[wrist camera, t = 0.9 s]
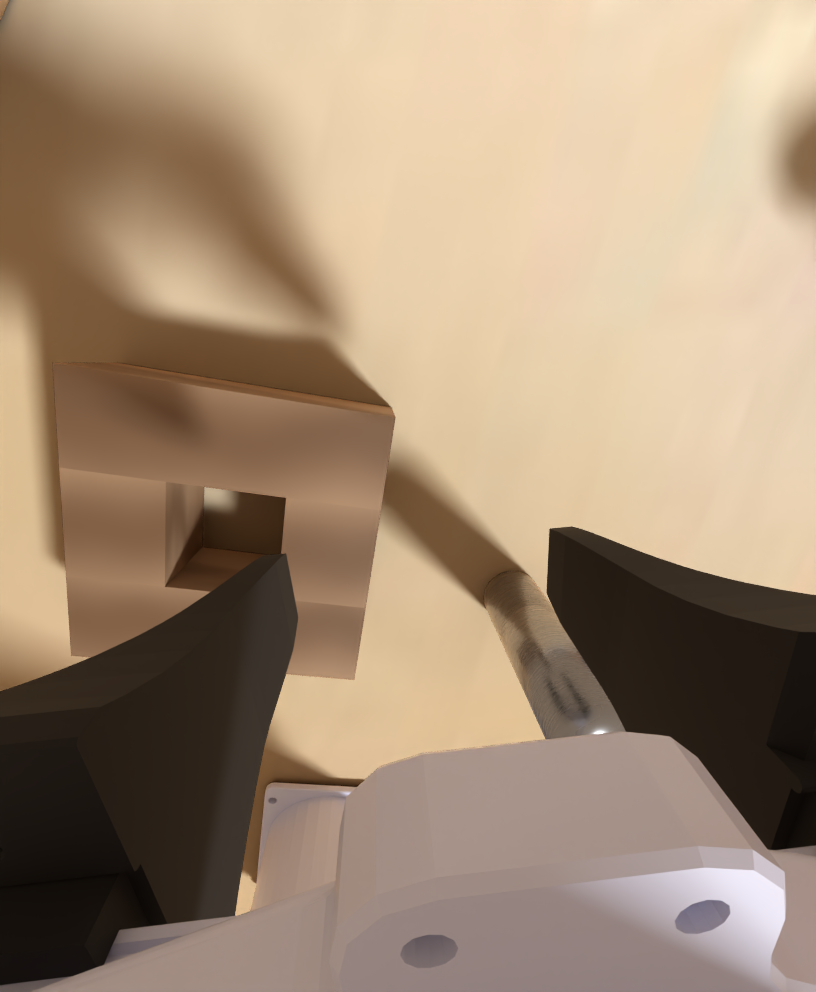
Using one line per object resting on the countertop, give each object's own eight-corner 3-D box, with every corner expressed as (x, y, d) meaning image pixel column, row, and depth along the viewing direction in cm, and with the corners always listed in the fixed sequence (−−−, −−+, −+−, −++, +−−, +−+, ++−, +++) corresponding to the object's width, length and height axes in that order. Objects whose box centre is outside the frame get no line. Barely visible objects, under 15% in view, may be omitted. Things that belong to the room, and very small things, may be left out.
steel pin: (530, 622, 24) (623, 777, 15) (478, 616, 24) (542, 771, 15) (543, 574, 23) (650, 708, 14) (490, 567, 23) (565, 700, 14)
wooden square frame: (357, 628, 23) (354, 679, 20) (123, 605, 22) (71, 655, 18) (391, 407, 20) (395, 417, 16) (118, 362, 19) (52, 362, 15)
